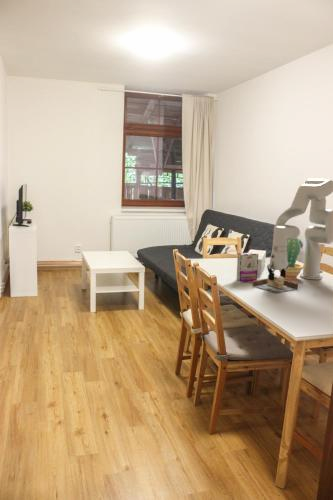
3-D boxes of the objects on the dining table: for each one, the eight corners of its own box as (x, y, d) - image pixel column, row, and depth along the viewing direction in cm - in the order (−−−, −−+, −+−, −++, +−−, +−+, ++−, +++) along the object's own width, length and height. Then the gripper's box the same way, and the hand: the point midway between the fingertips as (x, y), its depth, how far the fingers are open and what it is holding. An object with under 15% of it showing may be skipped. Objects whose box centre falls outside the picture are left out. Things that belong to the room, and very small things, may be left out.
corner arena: (273, 282, 253) (273, 277, 252) (297, 289, 240) (298, 283, 239) (252, 286, 242) (252, 281, 242) (276, 293, 229) (277, 288, 228)
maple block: (283, 286, 242) (284, 277, 241) (278, 287, 240) (279, 278, 239) (272, 282, 249) (272, 274, 248) (267, 283, 246) (268, 274, 245)
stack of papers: (249, 264, 299) (250, 249, 297) (264, 266, 296) (266, 250, 294) (242, 275, 269) (244, 257, 267) (260, 276, 266) (261, 259, 264)
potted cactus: (303, 282, 256) (307, 240, 251) (276, 279, 259) (280, 238, 254) (301, 275, 270) (304, 236, 266) (275, 273, 273) (278, 234, 269)
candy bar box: (253, 279, 257) (255, 252, 254) (257, 281, 253) (259, 253, 250) (235, 280, 254) (237, 252, 251) (239, 282, 250) (241, 254, 247)
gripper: (274, 251, 232) (272, 282, 235) (294, 248, 242) (292, 278, 245) (263, 248, 238) (261, 279, 241) (283, 246, 248) (281, 275, 251)
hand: (276, 278), depth 243 cm, fingers open, 9 cm apart
